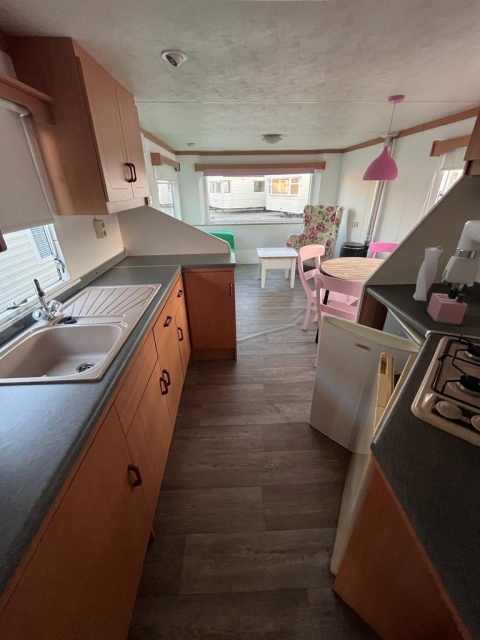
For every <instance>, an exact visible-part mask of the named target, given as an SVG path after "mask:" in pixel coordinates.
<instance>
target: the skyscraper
mask: <svg viewBox="0 0 480 640" xmlns="http://www.w3.org/2000/svg"><path fill="white" fill-rule="evenodd" d="M439 248H441V249H439ZM443 252H444V248H443V246H442V245H438V246H437V247H426V248H425V249H424V260H423V262H422V263H421V266H420V268H419V272H418V275H417V279H416V286H415V292H414V293H413V296H412V298H414V301H422V302H427V301H428V299H427V298H428V297H427V294H428V292H429V290H430V289H431V286H432V285H433V282H434V280H435V277H436V275H437V271H438V261H439V258H440V257H441V255H442V253H443Z"/></svg>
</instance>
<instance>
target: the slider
mask: <svg viewBox="0 0 480 640" xmlns="http://www.w3.org/2000/svg"><path fill="white" fill-rule="evenodd" d="M457 297H458V298H457V300H456V301H457V302H463V303H465V302H464V300H465V297H466V295H465V294H464V293H459V294H458V296H457Z"/></svg>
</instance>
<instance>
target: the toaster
mask: <svg viewBox="0 0 480 640" xmlns="http://www.w3.org/2000/svg"><path fill="white" fill-rule="evenodd" d="M457 298H458V296H457V297H456V299H455V300H454V299H450V298H449V297H448V293H437V292H436V293H435V292H432V293H431V296H430V300H429V303H428V305H427V309H426V313H427V314H428V315H429V316H430V318H432V320H433V321H434V323H439V324H448V325H454V326H455V325H456V326H457V325H458V326H461V324H462V321H463V318H464V316H465V313H466V310H467V308H468V304H467V303H465V302H464V301H463V302H464V303H463V302H457V301H456V300H457Z"/></svg>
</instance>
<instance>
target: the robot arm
mask: <svg viewBox="0 0 480 640" xmlns="http://www.w3.org/2000/svg"><path fill="white" fill-rule="evenodd" d="M457 244H458V245H457V247H456V250H455V253H454V255H451V256H450V258H449V260H448V262H447V264H446V265H445V268H444V271H443V273H442V275H441V279H442V280H441V282H440V283H441V284H442V285H446V286H447V287H448V288H449V290H448V293H447V294H448V297H449V298H450V299H454V300H455V299H456V297H458V295H459V294H460V291H462V290H463V289H465V288H469V287H473V286H474V283H475V282H476V279H477V277H478V273H479V269H480V220H468V221H466V223H465V224H464V227H463V230H462V232H461V235H460V239H459V241H458V243H457Z"/></svg>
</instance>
